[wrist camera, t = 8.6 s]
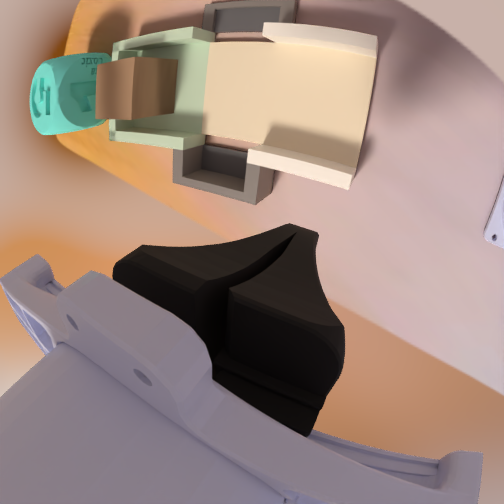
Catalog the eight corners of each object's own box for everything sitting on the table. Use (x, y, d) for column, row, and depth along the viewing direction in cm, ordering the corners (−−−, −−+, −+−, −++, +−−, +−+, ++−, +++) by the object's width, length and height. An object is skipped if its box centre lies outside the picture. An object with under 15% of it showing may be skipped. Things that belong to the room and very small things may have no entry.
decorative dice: (119, 121, 25) (56, 137, 19) (83, 119, 28) (30, 133, 21) (124, 52, 21) (59, 54, 15) (86, 60, 23) (30, 67, 17)
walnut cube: (178, 59, 19) (134, 56, 15) (174, 113, 22) (131, 119, 18) (139, 63, 20) (97, 64, 16) (136, 111, 23) (95, 119, 19)
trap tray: (381, 14, 12) (380, -1, 9) (344, 215, 20) (337, 230, 18) (139, 20, 18) (116, 17, 16) (132, 160, 27) (110, 167, 25)
